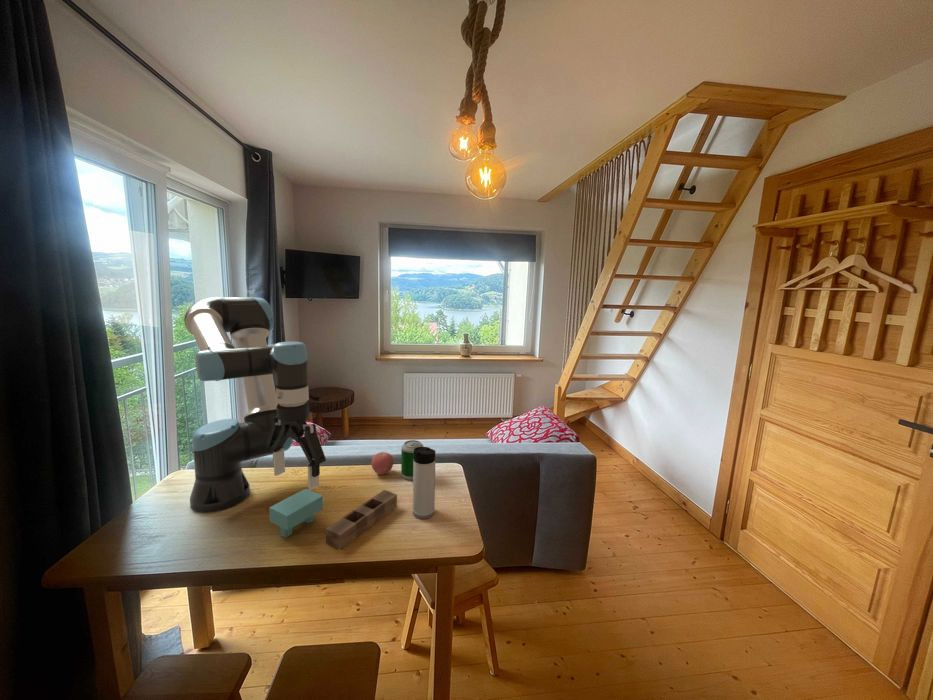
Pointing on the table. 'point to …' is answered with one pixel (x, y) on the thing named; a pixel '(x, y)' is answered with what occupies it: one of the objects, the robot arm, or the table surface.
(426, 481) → the travel mug
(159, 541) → the table surface
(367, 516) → the rail
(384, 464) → the apple
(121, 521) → the table surface
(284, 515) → the teal footed block
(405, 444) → the soda can
